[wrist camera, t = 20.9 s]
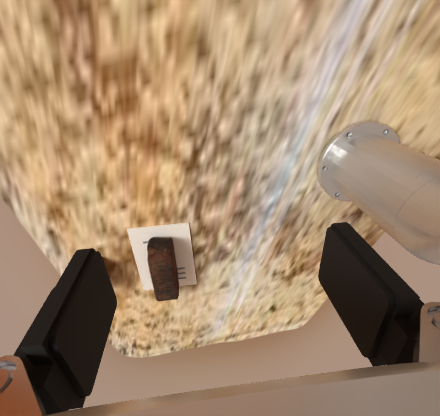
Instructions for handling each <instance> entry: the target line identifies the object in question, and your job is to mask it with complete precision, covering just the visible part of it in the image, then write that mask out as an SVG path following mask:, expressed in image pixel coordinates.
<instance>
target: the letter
mask: <svg viewBox="0 0 440 416" xmlns="http://www.w3.org/2000/svg"><path fill="white" fill-rule="evenodd" d="M127 232H128V235H129V239H130V242H131V246H132V249H133V253H134V257H135V260H136V264H137V267H138V271H139V275H140V278H141V282H142V285H143V289H144V290H150V289H154V288H153V284H152V280H151V275H150V271H149V266H148V260H147V257H148V252H147V245H148V241H149V239H151V238H152V237H156V238H169V237H171V238H172V239H173V244H174V250H175V257H176V263H177V271H178V278H179V279H178V281H179V286H185V285H194V284H197V281H196V274H195V266H194V259H193V251H192V244H191V236H190V228H189V222H188V223H177V224H167V225H157V226H147V227H137V228H127Z"/></svg>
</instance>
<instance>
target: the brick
mask: <svg viewBox="0 0 440 416" xmlns="http://www.w3.org/2000/svg"><path fill="white" fill-rule="evenodd" d="M147 252H148V257H147V260H148V266H149V271H150V275H151V280H152V284H153V288H154V293H155V297H156V300H157V301H165V300H173V299H177V298H178V296H179V281H178V279H179V278H178V271H177V263H176V257H175V250H174V244H173V239H172V238H171V237H169V238H156V237H152V238H151V239H149V241H148V245H147Z"/></svg>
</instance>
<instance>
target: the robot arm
mask: <svg viewBox="0 0 440 416" xmlns="http://www.w3.org/2000/svg"><path fill="white" fill-rule="evenodd" d="M318 180H319V183H320V185H321V187H322V188H323V189H324V191H325V192H326V193H327V194H328V195H330V196H331V197H333V198H334V199H337V200H341V201H352V202H353V203H354V204H355V205H356V206H357V207H359V208H360V209H361V210H362V211H363V212H364V213H365V214H366V215H368V216H369V217H370V218H371V219H372V220H373V221H374V222H375V223H377V224H378V225H379V226H380V227H381V228H382V229H383V230H385V231H386V232H387V233H388V234H389V235H390V236H391V237H392V238H394V239H395V240H396V241H397V242H398V243H399V244H401V245H402V246H403V247H404V248H405V249H406V250H407V251H409V252H410V253H411V254H413V255H414V256H416V257H418V258H420V259H422V260H425V261H427V262H430V263H434V264H439V265H440V160H438V159H436V158H433V157H431V156H429V155H426V154H425V153H424V152H419V151H416V150H414V149H411V148H409V147H406V146H404V145H402V144H400V140H399V138H398V136H397V134H396V132H395V131H394V130H393V129H392V128H390V127H388V126H387V125H385V124H382V123H379V122H373V121H366V122H360V123H356V124H353V125H351V126H349V127H347V128H345V129H344V130H342V131H341V132H339V133H338V134H337V135H336V136H335V137H333V138H332V139H331V141H330V142H329V143H328V144H327V146H326V147H325V149H324V151H323V152H322V154H321V157H320V160H319V163H318ZM318 277H319V281H320V284H321V285H322V287H323V289H324V290H325V292H326V294H327V296H328V297H329V299H330V300H331V302H332V304H333V306H334V307H335V309H336V311H337V312H338V314H339V316H340V317H341V319H342V321H343V323H344V325H345V326H346V328H347V330H348V331H349V333H350V335H351V337H352V338H353V340H354V342H355V343H356V345H357V347H358V348H359V350H360V352H361V354H362V355H363V356H364V357H368V359H369V360H370V362H371V364H372V365H373V367H367V368H359V369H351V370H344V371H337V372H329V373H321V374H314V375H306V376H300V377H293V378H285V379H278V380H270V381H263V382H256V383H249V384H241V385H234V386H227V387H220V388H213V389H206V390H199V391H192V392H185V393H179V394H172V395H165V396H158V397H152V398H144V399H137V400H131V401H124V402H117V403H112V404H105V405H100V406H93V407H88V408H83V404H84V401H85V398H86V396H89V395H90V394H91V392H92V389H93V386H94V382H95V379H96V375H97V372H98V368H99V365H100V362H101V358H102V355H103V351H104V348H105V344H106V341H107V337H108V334H109V331H110V327H111V324H112V320H113V317H114V313H115V310H116V306H117V299H116V296H115V293H114V290H113V287H112V284H111V282H110V279H109V276H108V273H107V271H106V268H105V265H104V262H103V260H102V257H101V254H100V252H98V251H97V252H96V251H95V250H94V249H93V248H91V249H81V250H77V251H76V252H75V254H74V255H73V257H72V259H71V261H70V262H69V264H68V266H67V267H66V269H65V271H64V273H63V274H62V276H61V278H60V279H59V281H58V283H57V285H56V287H55V288H53V290H52V291H51V292H50V294H49V296H48V297H47V299H46V301H45V303H44V304H43V306H42V308H41V309H40V311H39V313H38V314H37V316H36V318H35V320H34V321H33V323H32V325H31V326H30V328H29V330H28V331H27V333H26V335H25V337H24V338H23V340H22V342H21V343H20V345H19V347H18V348H17V350H16V352H15V354H14V355H9V356H3V357H0V416H440V302H430V303H426V304H424V303H423V302H422V301H421V300H420V299H419V298H420V297H419V296H418V295H417V294H416V293H415V292H414V291H413V290H412V289H411V288H410V287H409V286H408V285H407V283H406V282H405V281H404V280H403V279H402V278H401V277H400V276H399V275H398V274H397V273H396V272H395V271H394V270H393V269H392V268H391V267H390V266H389V265H388V264H387V263H386V262H385V261H384V260H383V259H382V258H381V257H380V256H379V254H377V252H376V251H375V250H374V249H373V248H372V247H371V246H370V245H369V244H368V243H367V242H366V241H365V240H364V239H363V238H362V237H361V236H360V235H359V234H358V233H357V232H356V231H355V230H354V229H353V227H352V226H351V225H350V224H349V223H347V222H343V223H333V224H332V225H331V227H329V228H327V231H326V237H325V242H324V247H323V253H322V258H321V263H320V269H319V274H318ZM381 365H385V366H381ZM374 366H376V367H374ZM75 408H81V409H75ZM69 409H75V410H69ZM68 410H69V411H68Z"/></svg>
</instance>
